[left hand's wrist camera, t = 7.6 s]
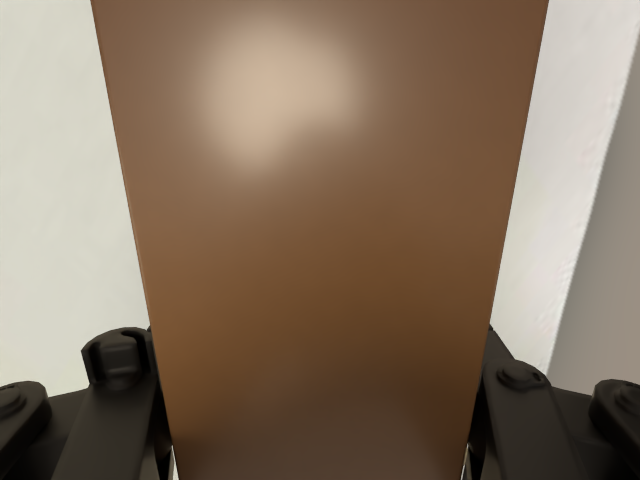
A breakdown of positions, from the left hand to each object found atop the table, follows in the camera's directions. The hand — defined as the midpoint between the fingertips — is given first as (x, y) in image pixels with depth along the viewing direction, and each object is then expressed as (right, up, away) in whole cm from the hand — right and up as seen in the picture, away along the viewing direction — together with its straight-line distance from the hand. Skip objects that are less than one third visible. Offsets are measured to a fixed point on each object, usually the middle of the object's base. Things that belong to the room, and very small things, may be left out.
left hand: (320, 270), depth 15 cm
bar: (0, +7, -2) cm, 8 cm away
